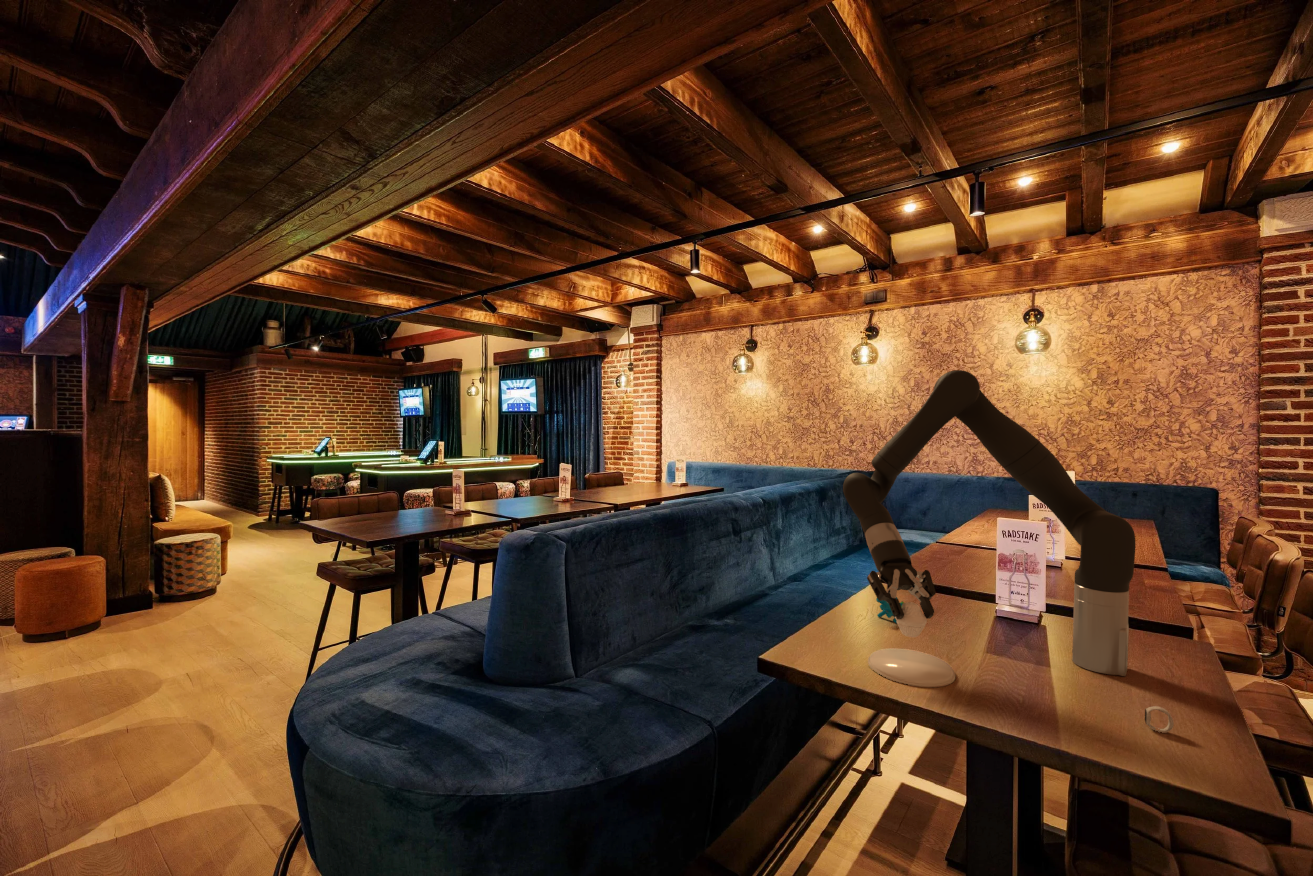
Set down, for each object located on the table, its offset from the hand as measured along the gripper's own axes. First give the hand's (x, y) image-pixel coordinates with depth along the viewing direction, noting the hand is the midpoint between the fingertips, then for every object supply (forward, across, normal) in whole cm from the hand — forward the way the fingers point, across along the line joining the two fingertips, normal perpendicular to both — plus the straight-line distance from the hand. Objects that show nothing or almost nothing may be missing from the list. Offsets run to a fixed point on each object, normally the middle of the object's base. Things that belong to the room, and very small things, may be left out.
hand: (915, 617), depth 118 cm
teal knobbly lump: (-13, +13, +30) cm, 35 cm away
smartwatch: (+26, +28, -10) cm, 40 cm away
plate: (+7, 0, +9) cm, 12 cm away
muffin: (+2, 0, +4) cm, 5 cm away
